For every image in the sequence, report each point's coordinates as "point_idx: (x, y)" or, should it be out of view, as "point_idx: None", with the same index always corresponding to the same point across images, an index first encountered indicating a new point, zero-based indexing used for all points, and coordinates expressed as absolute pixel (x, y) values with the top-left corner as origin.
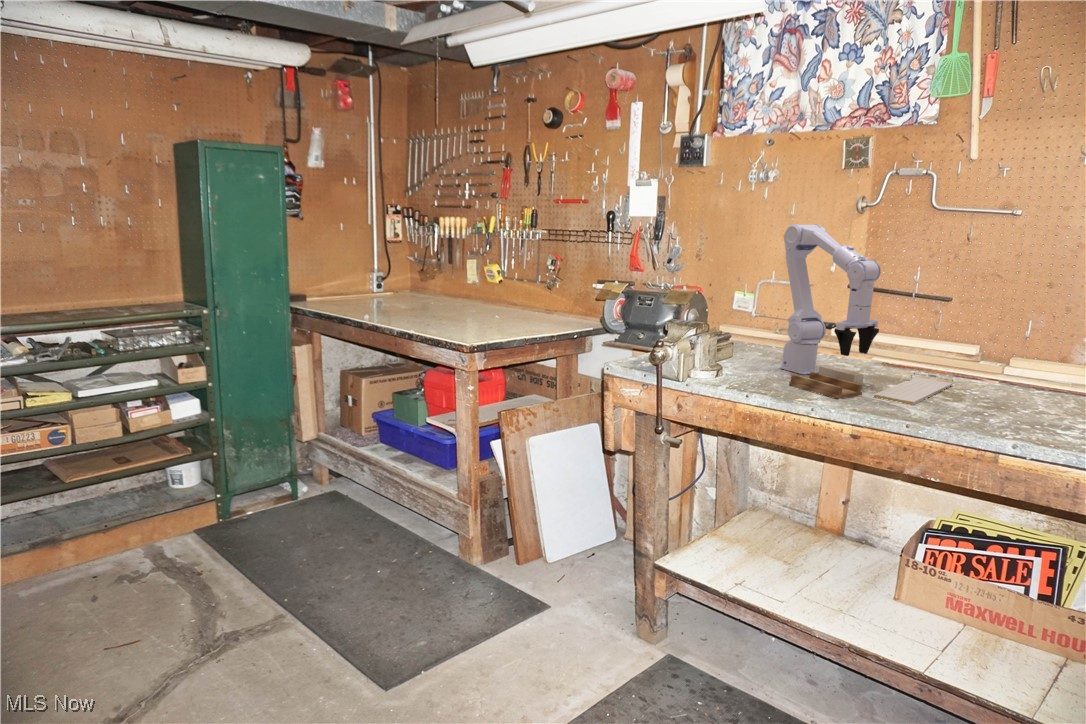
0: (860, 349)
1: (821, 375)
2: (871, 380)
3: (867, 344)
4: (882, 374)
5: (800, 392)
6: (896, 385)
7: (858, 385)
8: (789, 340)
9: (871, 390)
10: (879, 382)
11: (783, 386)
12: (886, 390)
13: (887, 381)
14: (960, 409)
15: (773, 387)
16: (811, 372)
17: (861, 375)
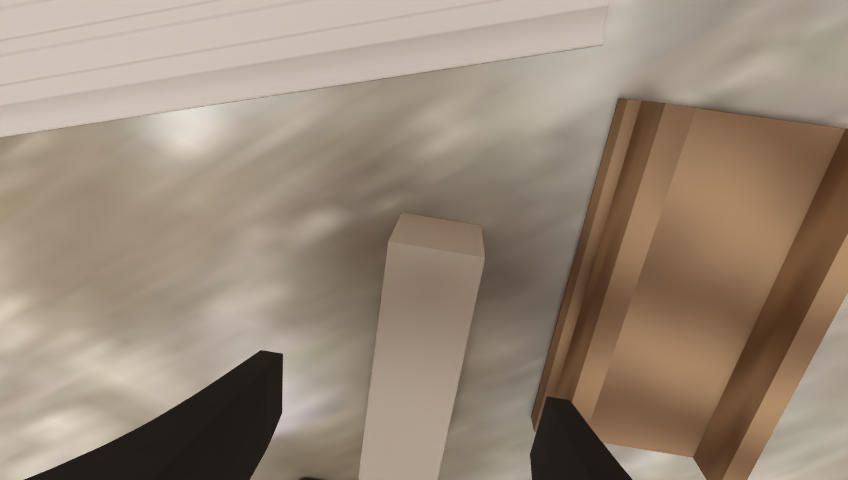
0: (267, 430)
1: (595, 399)
2: (191, 269)
3: (224, 424)
4: (11, 305)
5: (839, 341)
6: (174, 104)
7: (691, 112)
8: None
9: (422, 138)
10: (188, 219)
11: None
12: (420, 27)
13: (119, 206)
14: None
15: (828, 464)
16: None
17: (410, 242)
